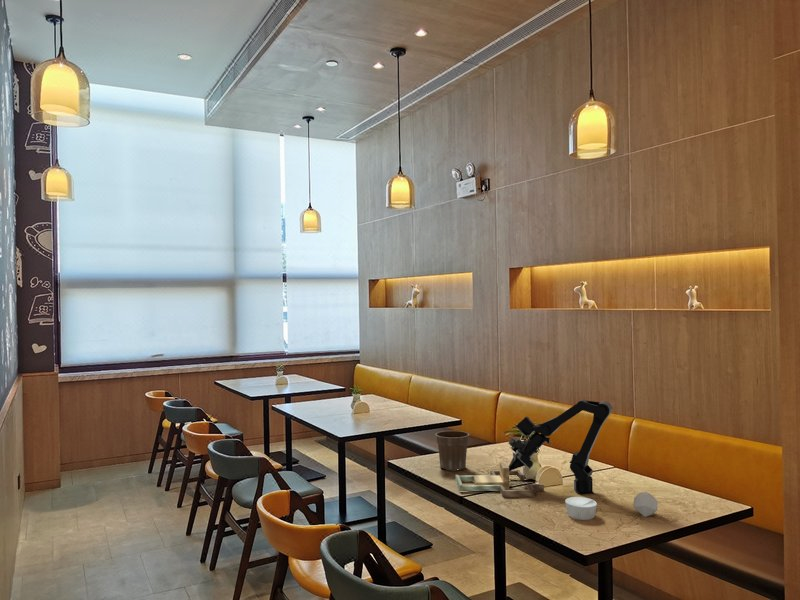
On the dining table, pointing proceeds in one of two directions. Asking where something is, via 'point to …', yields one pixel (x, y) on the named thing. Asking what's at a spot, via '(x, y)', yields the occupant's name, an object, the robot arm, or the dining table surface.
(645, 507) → the die
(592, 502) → the ramekin
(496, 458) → the dining table surface
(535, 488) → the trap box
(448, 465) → the plant pot
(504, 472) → the beige l-shaped bracket
